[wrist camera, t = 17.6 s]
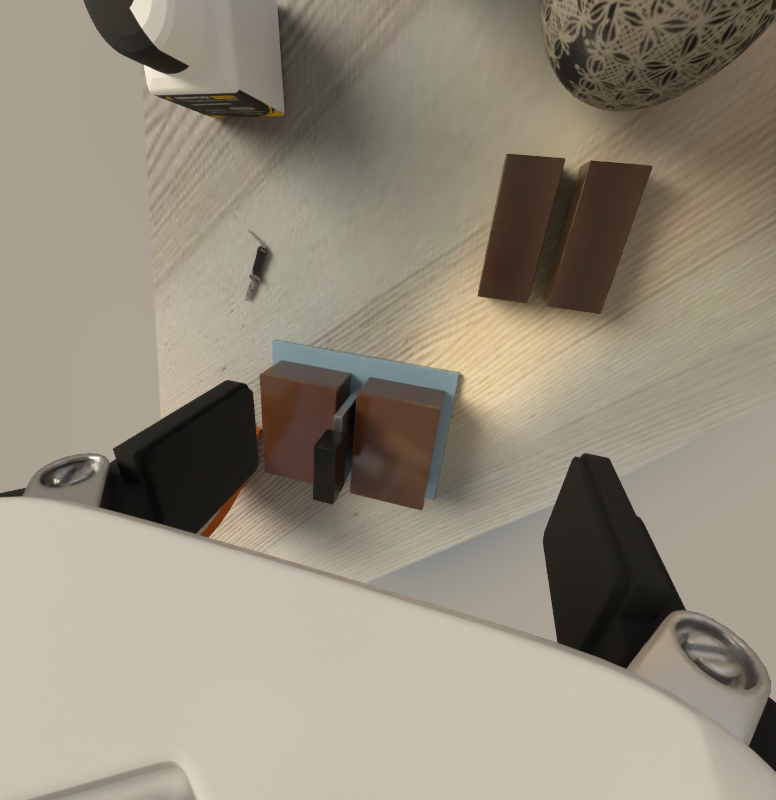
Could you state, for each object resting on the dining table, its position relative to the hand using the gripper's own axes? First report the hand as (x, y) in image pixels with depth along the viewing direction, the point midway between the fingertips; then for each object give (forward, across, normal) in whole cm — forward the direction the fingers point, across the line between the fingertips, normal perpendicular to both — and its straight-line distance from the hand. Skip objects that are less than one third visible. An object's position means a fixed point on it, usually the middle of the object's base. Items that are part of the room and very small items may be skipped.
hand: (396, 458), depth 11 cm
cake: (+26, +9, +15) cm, 32 cm away
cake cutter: (+26, +9, +15) cm, 31 cm away
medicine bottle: (+27, +21, -16) cm, 37 cm away
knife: (+26, +21, 0) cm, 34 cm away
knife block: (+27, -6, -5) cm, 28 cm away
